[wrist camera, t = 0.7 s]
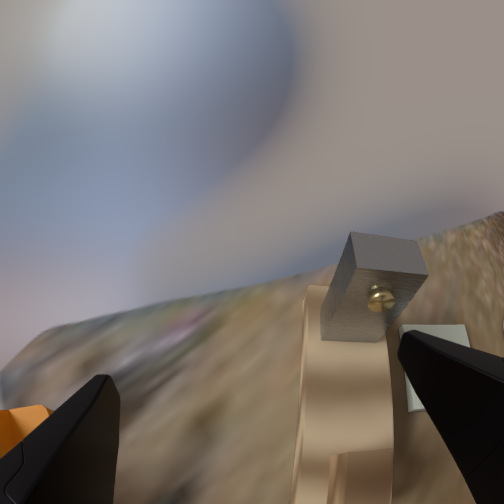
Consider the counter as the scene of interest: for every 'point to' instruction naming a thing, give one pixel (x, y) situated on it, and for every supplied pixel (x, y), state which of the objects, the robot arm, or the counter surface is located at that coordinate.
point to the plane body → (342, 417)
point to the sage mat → (442, 331)
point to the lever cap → (370, 287)
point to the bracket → (19, 424)
